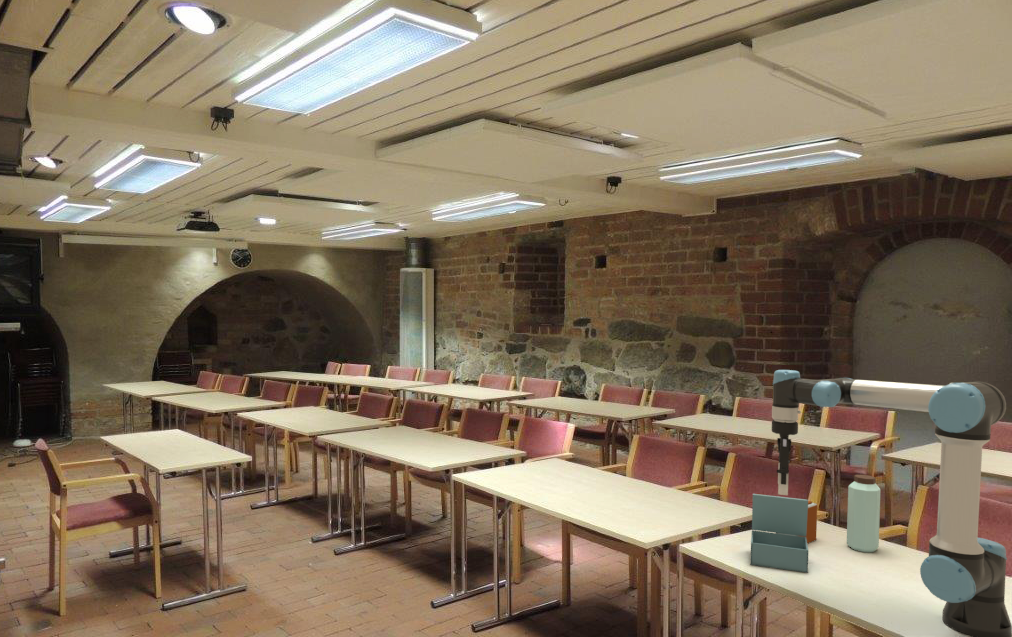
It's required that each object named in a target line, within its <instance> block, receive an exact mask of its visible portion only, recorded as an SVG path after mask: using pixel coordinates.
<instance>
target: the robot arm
mask: <svg viewBox="0 0 1012 637" xmlns="http://www.w3.org/2000/svg"><path fill="white" fill-rule="evenodd" d="M799 404H805V405H812V406H816V407H817V406H818V407H821V408H834V407H835V406H837V404H844V405H845V404H846V405H859V406H868V407H878V408H886V409H887V408H888V409H895V410H896V409H897V410H905V411H915V412H925V413H928V415H929V418H930V420H931V421H932V422H933V423H934V434H935V436H936V437H937V438H938V440H940V442H941V445H940V447H941V448H940V466H939V482H938V483H939V485H938V486H939V487H938V502H937V503H938V504H937V505H938V506H937V519H936V520H937V524H936V534H935V535H933V536H932V537H930V539H929V543H928V544H929V546H928V556H927V557H926V558H924V560H923V561H922V563H921V564H920V569H919V570H920V571H919V572H920V578H921V580H922V583H923V585H924V586H925V587H926V588H927V589H928V591H929V592H930V593H931V594H932V595H933V596H934V597H935V598H938V599H939V600H941V601H944V602H945V605H944V606H943V609H942V617H941V620H942V621H943V622H944V624H946V626H948V627H950V628H951V629H953V630H955V631H958V633H959V632H960V633H963V634H965V635H968V636H972V637H1012V622H1011V619H1010V616H1009V613H1008V610H1007V607H1006V606H1007V605H1006V604H1005V603H1006V602H1005V596H1006V595H1005V593H1006V573H1007V572H1006V569H1007V567H1006V566H1007V560H1008V558H1007V549H1006V547H1005V546H1004V545H1002V544H1001V543H999V542H998V541H993V540H990V539H987V538H982V537H978V536H979V534H978V533H979V515H980V501H981V500H980V497H981V477H982V475H981V474H982V459H983V458H982V457H983V455H982V454H983V447H984V445H986V444H987V443H988V442H990V441H991V431H992V426H993V425H994V424H997V423H998V422H999V421H1000V420H1001V419H1002V418H1003V416H1004V415H1005V413H1006V410H1007V402H1006V398H1005V396H1004V395H1003V393H1002V392H1001V390H999V388H997V387H996V386H995V385H992V384H991V383H988V382H986V381H985V382H983V381H976V380H975V381H968V382H967V381H966V382H949V384H946V385H941V384H937V385H936V384H924V383H912V382H911V383H910V382H899V381H898V382H897V381H896V382H894V381H884V380H882V381H881V380H871V379H870V380H869V379H868V380H867V379H853V378H850V377H839V378H827V379H825V378H824V379H809V378H803V377H802V378H801V373H800V371H798V370H794V369H793V370H792V369H791V370H790V369H778V370H775V371H774V373H773V380H772V406H771V418H772V420H771V432H772V433H774V434H777V435H779V437H777V440H776V441H777V449H778V450H777V453H778V467H777V468H778V469H776V473H777V484H778V485H777V488H778V489H777V490H778V491H777V495H781V496H789V474H790V473H789V472H790V468H789V466H790V465H789V464H791V463H790V462H791V461H790V454H791V446H792V439H791V438H789V436H795V435H797V434H799V432H798V431H799V422H798V420H799V414H802V413H801V410H799V406H800V405H799Z"/></svg>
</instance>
